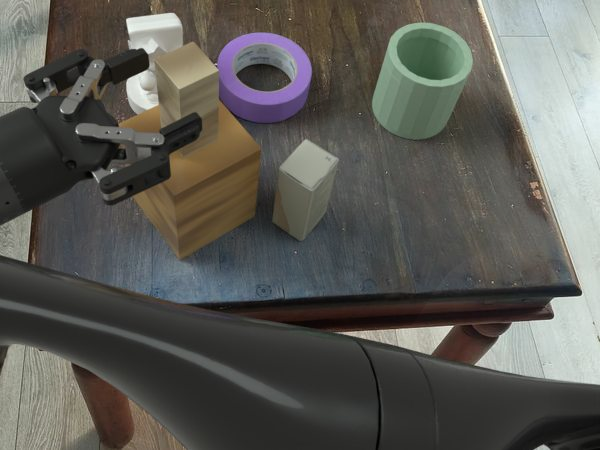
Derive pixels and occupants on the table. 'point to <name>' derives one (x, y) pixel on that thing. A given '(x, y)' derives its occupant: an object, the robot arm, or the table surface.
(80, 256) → the table surface
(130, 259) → the table surface
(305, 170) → the box
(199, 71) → the block
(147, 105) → the character figurine
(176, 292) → the table surface
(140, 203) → the stand
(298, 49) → the tape roll
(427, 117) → the jar
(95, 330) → the robot arm
